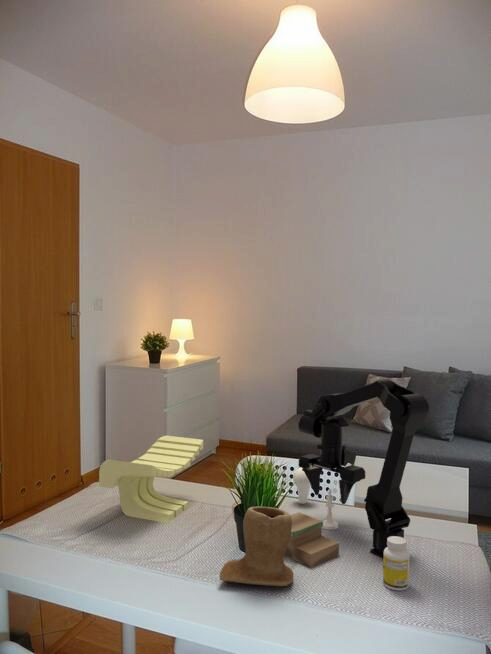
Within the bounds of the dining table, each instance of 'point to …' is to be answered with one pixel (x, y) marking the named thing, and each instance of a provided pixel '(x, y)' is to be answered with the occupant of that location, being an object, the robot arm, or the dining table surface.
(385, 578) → the supplement bottle
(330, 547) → the step stand
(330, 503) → the chess piece
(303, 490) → the lightbulb
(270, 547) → the brown suede boot
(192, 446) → the slatted curved stool
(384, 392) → the robot arm
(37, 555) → the dining table surface
